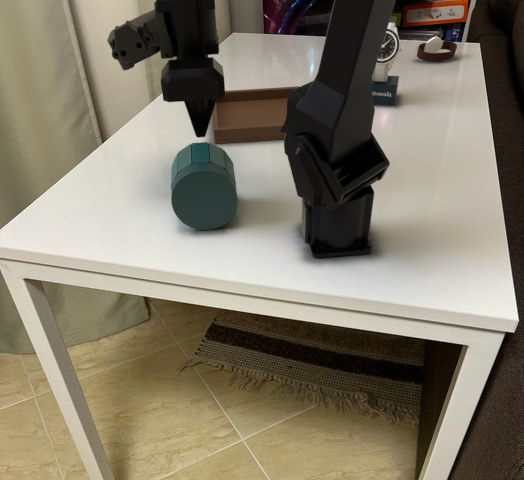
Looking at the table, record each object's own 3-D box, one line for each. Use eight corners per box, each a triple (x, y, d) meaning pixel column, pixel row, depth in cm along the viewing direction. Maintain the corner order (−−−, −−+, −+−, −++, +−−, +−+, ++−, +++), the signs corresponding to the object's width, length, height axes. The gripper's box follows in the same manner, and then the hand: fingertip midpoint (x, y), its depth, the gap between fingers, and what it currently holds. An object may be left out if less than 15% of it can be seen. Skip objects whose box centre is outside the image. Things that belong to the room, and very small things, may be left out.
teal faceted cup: (239, 228, 62) (235, 167, 57) (175, 232, 62) (166, 172, 57) (235, 197, 67) (231, 140, 62) (176, 202, 67) (168, 144, 62)
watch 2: (447, 53, 106) (451, 32, 104) (460, 60, 103) (464, 38, 101) (411, 57, 105) (414, 36, 103) (422, 64, 102) (426, 43, 99)
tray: (298, 98, 91) (299, 86, 90) (314, 137, 80) (315, 123, 78) (211, 104, 90) (209, 91, 89) (214, 143, 79) (213, 130, 77)
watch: (357, 107, 87) (365, 30, 80) (364, 90, 93) (371, 16, 85) (393, 110, 86) (404, 32, 79) (397, 92, 92) (408, 17, 84)
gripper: (112, -31, 61) (138, 111, 72) (91, 8, 48) (127, 176, 59) (212, -36, 62) (222, 106, 73) (218, 1, 48) (230, 169, 59)
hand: (200, 136), depth 66 cm, fingers closed
